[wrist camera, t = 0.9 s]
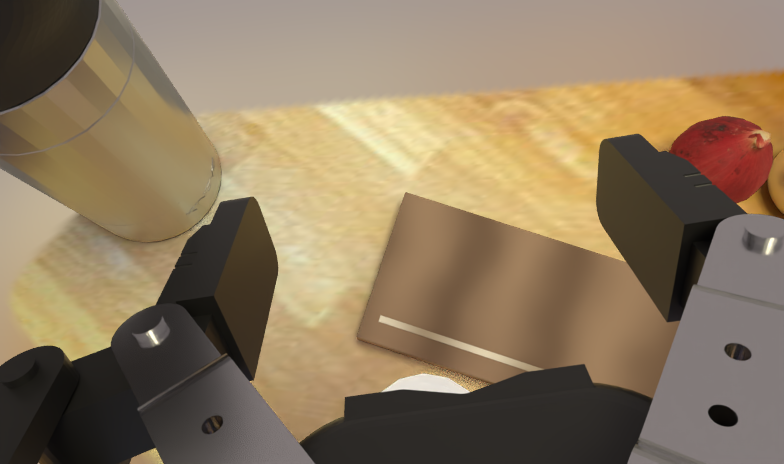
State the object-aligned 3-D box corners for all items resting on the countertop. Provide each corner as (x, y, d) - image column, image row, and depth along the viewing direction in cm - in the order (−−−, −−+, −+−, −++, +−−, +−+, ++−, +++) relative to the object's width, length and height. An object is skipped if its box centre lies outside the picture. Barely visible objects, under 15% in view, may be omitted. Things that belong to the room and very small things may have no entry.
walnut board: (320, 448, 32) (316, 453, 30) (403, 201, 37) (405, 191, 35) (693, 578, 31) (715, 592, 29) (731, 306, 36) (753, 302, 34)
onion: (629, 177, 38) (694, 125, 31) (681, 131, 39) (756, 71, 32) (689, 236, 37) (772, 198, 29) (741, 188, 38) (833, 139, 31)
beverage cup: (441, 495, 32) (492, 577, 19) (348, 456, 32) (331, 509, 19) (473, 396, 34) (541, 406, 20) (384, 361, 34) (392, 347, 21)
